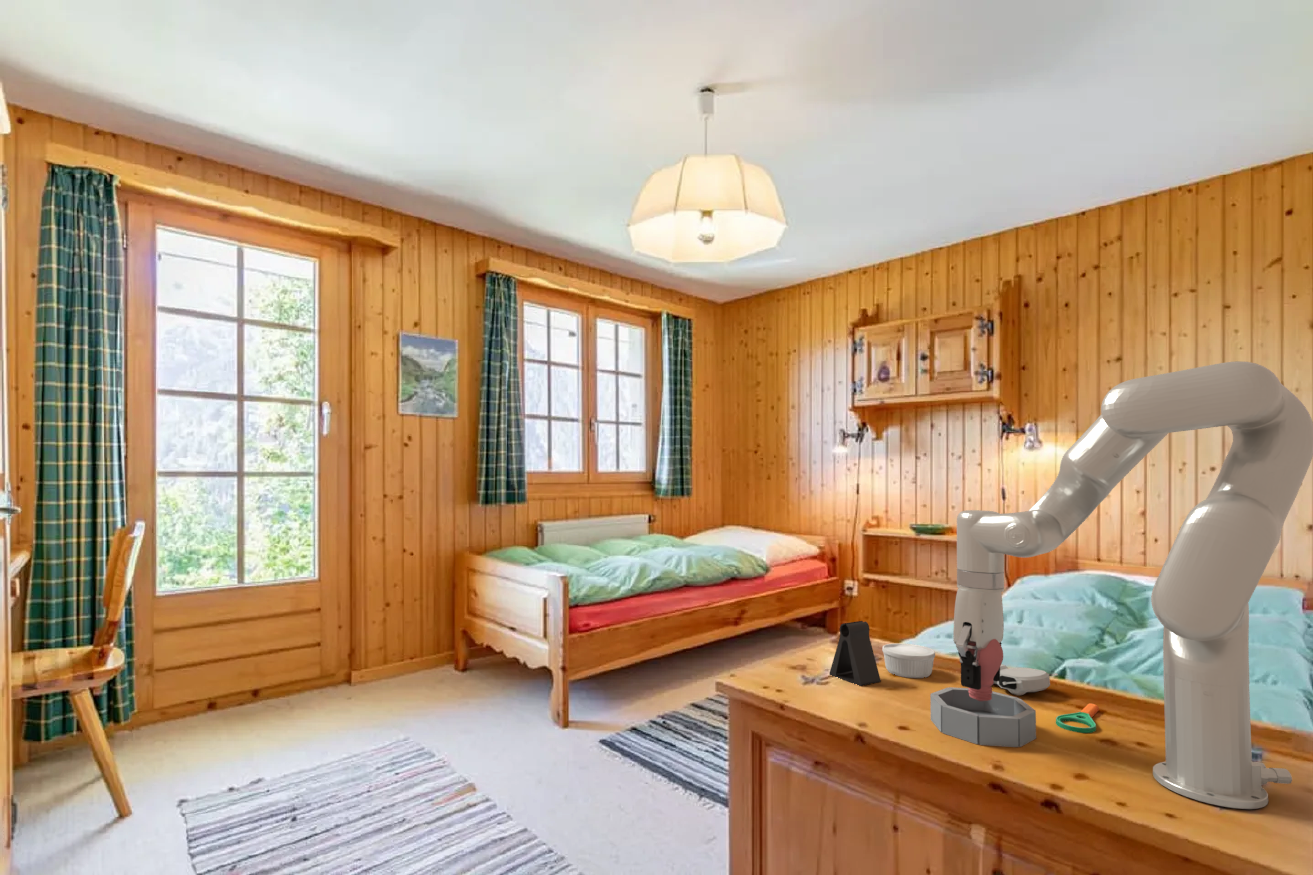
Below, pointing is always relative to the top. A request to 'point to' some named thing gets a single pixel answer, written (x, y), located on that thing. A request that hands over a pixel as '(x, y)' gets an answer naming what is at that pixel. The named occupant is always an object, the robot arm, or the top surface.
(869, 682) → the phone stand
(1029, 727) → the ceramic bowl
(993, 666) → the light bulb
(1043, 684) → the robot toy
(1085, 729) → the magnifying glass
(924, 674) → the ramekin
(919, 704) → the top surface
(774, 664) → the top surface
